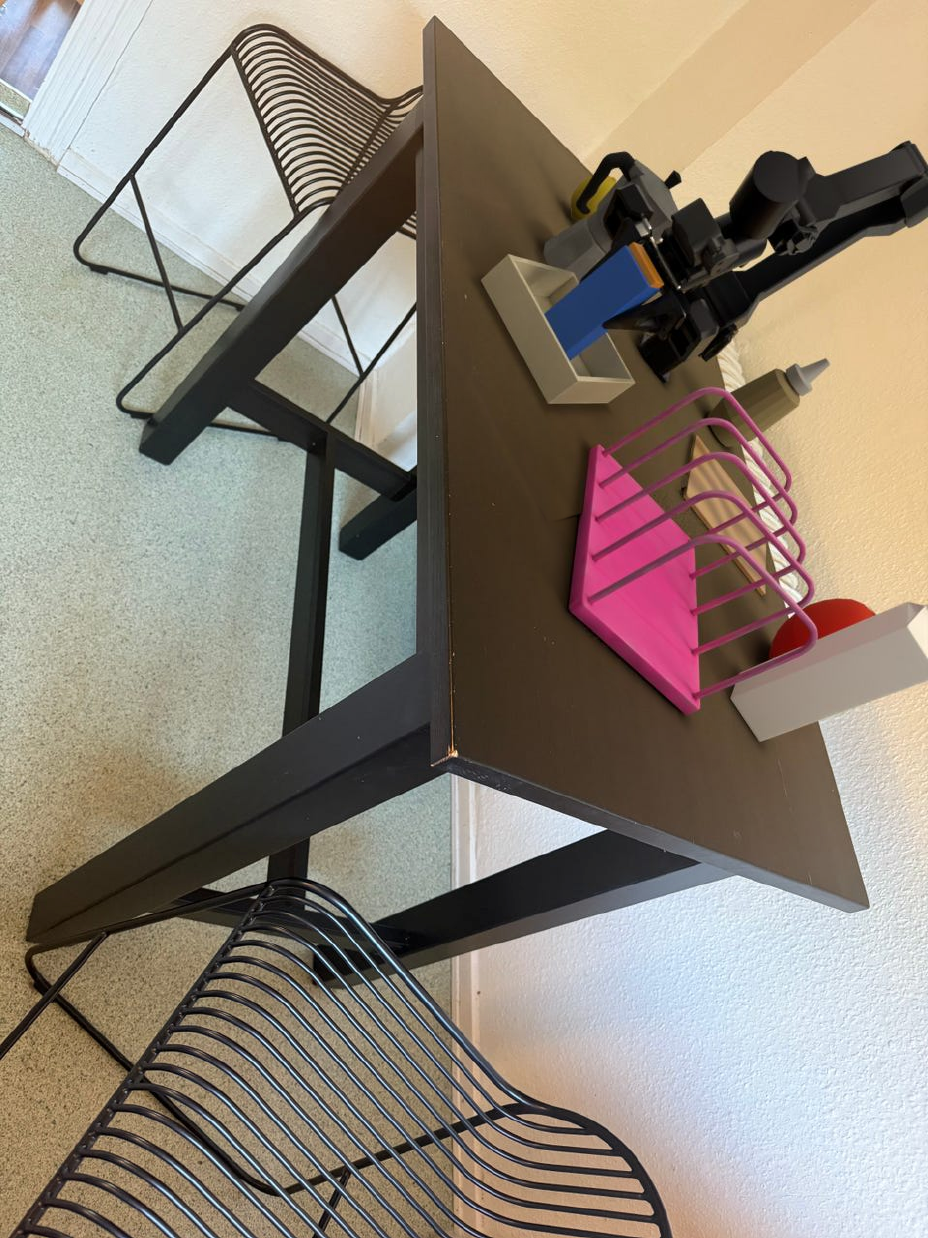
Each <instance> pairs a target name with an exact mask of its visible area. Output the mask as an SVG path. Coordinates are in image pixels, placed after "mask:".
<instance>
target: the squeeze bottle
mask: <svg viewBox="0 0 928 1238" xmlns="http://www.w3.org/2000/svg"><path fill="white" fill-rule="evenodd" d="M830 366H831V363H830V361H829V359H828V358H827V357H825V358H822V359H820V360H817V361H815V362H812V363H810V364H806V365H805V366H802V367H801V366H800V364H798V363H797V362H796V363H793V364H792V365H790V366H789V367H787V368H786V369H785V370H782V369H780V368H776V367H775V368H774V369H772V370H770V371H768V372H766V373H765V374H762V375H761V376H759V377H757V378H755V379H753V380H751V381H749V382H747V383H746V384H743V385H741V386H740V387H738V388H736V389H734V390H732V391H730V392H729V393H730V394H732V396H733V397H734V398H735V399H736V400H737V402H738V403H739V404H740V405H741V407H742V408H743V409H744V411H745V412H746V413H747V414H748V416H749V417H750V418H751V419H752V421H753V422H754V423H755V425H756V426H757V427H758V429H759V430H760V431H761V433H762V434H763V433H764V432H766V431H767V430H768V429H770V428H771V427H773V426H774V425H776V424H777V423H778V422H779V421H781V420H782V419H783V418H785V417H786V416H788V415H789V414H790V413H792V412H793V411H794V410H795V409H797V408H798V407H799V406H800V403H801V397H805V395H807V394H809V393H811V392H812V391H813V385H812V384H811V383H813V382H814V381H815V380H816V379H817V378H818V377H819V376H820V375H821V374H822V373H823V372H824V371H826V370H827V369H828V368H829V367H830ZM707 418H720V419H723V420H726V421H728V422H730V423H731V424H733V425H734V426H735V427H736V429H737V430H738V431H739V432H740V433H741V435H742V436H743V437H744V438H745V439H746V441H747V442H748V443H749V442H752V441H754V440H755V439H757V438H758V437H757V436H756V435H755V434H754V432H753V431H752V430H751V428H750V427H749V426H748V425H747V423H746V422H745V421H744V419H743V418H742V417H741V416H740V414H739V413H738V412H737V411H736V409H735V408H734V407H733V406H732V404H731V403H730V402H729V401H728V400H727V399H726V398H725V397H723V396H722V398H721V399H720V401H718V403H717V404H716V405H715V406H714V408H713V409H712V410H711V411H710V412H709V413H708V415H707ZM709 426H710V429H711V431H712V432H713V434H714V436H715V437H716V438H717V440H718V441H719V442H720V443H721V444H722V445H723V446H725V447H726V448H729V447H733V446H737V445H741V444H740V443H739V441H738V440H737V439H736V438H735V437H734V435H733V434H732V433H731V432H730V431H729V430H728V429H726V428H725V427H723V426H720V425H709Z"/></svg>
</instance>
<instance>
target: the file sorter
mask: <svg viewBox="0 0 928 1238" xmlns="http://www.w3.org/2000/svg"><path fill="white" fill-rule="evenodd" d="M704 395H719V396H721V397H722V398H723V397H725V398H726V399H727V400H728V401H729V402H730V403H731V404H732V406H733V407H734V408H735V409H736V411H737V412H738V413H739V414H740V416H741V417H742V418H743V419H744V421H745V422H746V423H747V425H748V426H749V427H750V428H751V430H752V431H753V432H754V434H755V435H756V436H757V437H756V438H757V439H758V440H759V441H760V443H761V444H762V446H764V448H765V449H766V451H767V452H768V453H769V455H770V456H771V457H772V459H773V461H775V463H776V464H777V465H778V467H779V468H780V469H781V471H782V472H783V474H784V476H785V484H784V486H783V485H782V483H781V482H780V481H779V479H778V478H777V477H776V476H775V475H774V474H773V472H772V471H771V469H770V468H769V467H768V466H767V464H766V463H765V462H764V460H762V458H761V457H760V456H759V454H758V453H757V452H756V450H755V449H754V448H753V447H752V445H751V444H750V443H749V442H747V441H746V439H745V438H744V437H743V436H742V435H741V433H740V432H739V431H738V430H737V429H736V427H735V426H734V425H733V424H731V423H730V422H728V421H726V420H723V419H720V418H708V417H706V418H701V419H699V420H697V421H695V422H693V423H692V424H690V425H688V426H687V427H685V428H683V429H682V430H680V431H678V432H677V433H675V434H674V435H672V436H670V437H669V438H667V439H666V440H664V441H663V442H661V443H659V444H658V445H656V446H655V447H653V448H651V449H650V450H649V451H647V452H645V453H644V454H642V455H640V456H639V457H638V458H636V459H634V460H633V461H631V462H629V463H628V464H626V465H625V466H622V465H621V464H620V463H619V462H618V461H617V460H616V459H615V458H614V457H613V456H612V455H611V454H612V453H614V452H615V451H617V450H618V449H620V448H621V447H623V446H624V445H626V444H628V443H629V442H631V441H633V440H634V439H635V438H637V437H639V436H640V435H642V434H644V433H645V432H646V431H647V430H650V429H651V428H653V427H654V426H656V425H657V424H659V423H661V422H662V421H663V420H665V419H667V418H668V417H669V416H671V415H672V414H674V413H675V412H677V411H679V410H680V409H682V408H683V407H685V406H687V405H688V404H690V403H691V402H693V401H695V400H696V399H698V398H700V397H702V396H704ZM710 425H720V426H723V427H725V428H726V429H728V430H729V431H730V432H731V433H732V434H733V435H734V437H735V438H736V439H737V440H738V441H739V443H740V444H739V445H741V446H742V448H743V449H744V451H746V453H747V454H748V455H749V456H750V457H751V459H752V460H753V461H754V462H755V464H756V465H757V466H758V468H759V469H760V470H761V471H762V472H763V474H764V475H765V476H766V478H767V479H768V480H769V481H770V483H771V484H772V486H773V487H774V488H775V489H776V491H777V492H778V493H776V494H775V495H773V496H771V495H770V493H769V492H768V490H766V488H765V487H764V486H763V484H762V483H761V482H760V480H759V479H758V478H757V476H756V475H755V474H754V473H753V472H752V470H751V469H750V468H749V466H748V465H747V464H746V463H745V461H743V459H742V458H740V457H739V456H737V455H736V454H733V453H731V452H726V451H712V452H710V453H708V454H705V455H703V456H700V457H699V458H697V459H695V460H693V461H691V462H690V463H689V462H688V463H686V464H684V465H683V466H680V467H679V468H677V469H676V470H673V471H672V472H670V473H669V474H667V475H665V476H664V477H662V478H660V479H659V480H657V481H655V482H653V483H652V484H650V485H648V486H646V487H645V488H643V487H642V486H641V485H640V484H639V483H638V482H637V481H636V480H635V479H634V478H633V477H632V476H631V475H630V474H629V472H630V471H632V470H634V469H636V468H637V467H638V466H640V465H642V464H643V463H645V462H646V461H648V460H650V459H651V458H653V457H654V456H656V455H657V454H659V453H661V452H662V451H664V450H665V449H667V448H668V447H670V446H672V445H673V444H675V443H676V442H679V441H681V439H683V438H684V437H686V436H687V435H689V434H691V433H692V432H694V431H696V430H698V429H700V428H702V427H705V426H710ZM588 453H589V454H588V463H587V473H586V482H585V489H584V490H585V491H584V499H583V500H584V501H583V507H582V512H581V513H580V514H579V519H578V528H577V529H578V530H577V535H576V536H577V537H576V546H575V553H574V561H573V569H572V578H571V580H572V581H571V587H570V595H569V603H568V610H569V612H570V613H571V614H572V615H573V616H575V617H576V618H577V619H578V620H579V621H580V622H582V623H583V624H584V625H585V626H586V627H587V628H588V629H589V630H591V631H592V632H593V633H594V634H595V635H596V636H597V637H598V638H599V639H601V641H603V642H604V643H605V644H606V645H607V646H608V647H610V648H611V649H612V650H613V651H614V652H615V653H616V654H617V655H619V657H621V658H622V659H623V660H624V661H625V662H626V663H627V664H629V666H631V667H632V668H633V669H634V670H635V671H636V672H637V673H639V675H640V676H642V677H643V678H644V679H645V680H646V681H648V683H650V684H651V685H652V686H653V687H655V689H656V690H657V691H659V692H660V693H661V695H663V696H664V697H665V698H666V699H668V700H669V701H670V703H672V704H673V705H674V706H675V707H676V708H677V709H678V710H680V711H681V712H682V713H683V714H684V715H685V716H688V715H690V714H693V713H694V712H697V711H699V710H700V709H701V699H703V698H706V697H707V696H710V695H712V694H715V693H717V692H719V691H723V690H725V689H727V688H729V687H731V686H735V684H736V683H739V682H741V681H743V680H746V679H748V678H751V677H753V676H756V675H758V674H760V673H763V672H765V671H767V670H770V669H772V668H774V667H777V666H779V665H782V664H784V663H786V662H788V661H791V660H793V659H795V658H797V657H800V656H802V655H804V654H805V653H807V652H808V651H810V650H811V649H812V648H813V647H814V645H815V644H816V642H817V638H818V633H817V628H816V626H815V624H814V623H813V622H812V620H811V619H810V618H809V617H808V616H807V615H806V614H805V612H804V611H803V610H802V609H803V608H805V607H806V606H808V605H809V604H810V603H811V602H812V599H813V598H814V596H815V592H816V587H815V583H814V580H813V578H812V577H811V576H810V575H809V573H808V572H807V571H806V570H805V568H804V567H803V566H802V565H803V563H804V562H805V559H806V555H807V548H806V544H805V541H804V540H803V538H802V537H801V536H800V534H799V533H798V532H797V530H796V527H794V526H795V524H796V523H797V520H798V517H799V516H798V515H799V513H798V511H799V510H798V507H797V504H796V502H795V501H794V499H793V498H792V497H791V495H790V494H789V491H790V489H791V487H792V483H793V478H792V473H791V470H790V468H789V467H788V466H787V465H786V463H785V462H784V461H783V459H782V458H781V456H780V455H779V453H777V451H776V450H775V448H774V447H773V446H772V444H771V443H770V442H769V440H768V439H767V438H766V436H765V435H764V434H763V433H761V431H760V430H759V429H758V427H757V426H756V425H755V423H754V422H753V421H752V419H751V418H750V417H749V416H748V414H747V413H746V412H745V411H744V409H743V408H742V407H741V405H740V404H739V403H738V402H737V400H736V399H735V398H734V397H733V396H732V394H730V392H729V391H728V390H726V389H723V388H721V387H717V386H705V387H702V388H700V389H697V390H695V391H693V392H692V393H690V394H688V395H687V396H685V397H683V398H682V399H681V400H679V401H677V402H675V403H674V404H673V405H671V406H669V407H668V408H667V409H665V410H664V411H662V412H661V413H659V414H657V415H656V416H654V417H653V418H651V419H650V420H648V421H647V422H645V423H643V424H642V425H641V426H639V427H638V428H636V429H634V430H633V431H632V432H630V433H629V434H627V435H626V436H624V437H622V438H621V439H619V440H618V441H616V442H615V443H613V444H612V445H610V446H609V447H607V448H604V447H603V446H602V445H601V444H596V446H594V447H592V448H591V449H590V450H589V452H588ZM713 459H716V460H725V461H729V462H731V463H733V464H734V465H736V466H737V467H738V469H740V471H741V472H742V473H743V475H744V476H745V477H746V479H747V480H748V481H749V482H750V483H751V484H752V486H753V488H755V490H756V491H757V492H758V494H759V495H760V496H761V498H762V499H763V500H764V501H762V502H761V503H758V504H756V505H755V506H752V508H751V509H750V508H749V507H748V505H747V504H746V503H745V502H744V501H743V500H742V499H741V498H739V497H738V496H736V495H735V494H733V493H730V492H727V491H723V490H710V491H705V492H702V493H699V494H697V495H695V496H693V497H691V498H690V499H688V500H684V501H682V502H681V503H679V504H677V505H675V506H674V507H672V508H670V509H669V510H667V511H665V510H664V509H663V508H662V507H661V506H660V505H659V504H658V503H657V502H656V501H655V500H654V499H653V498H652V497H651V496H650V494H651V493H653V492H654V491H656V490H658V489H659V488H662V487H663V486H665V485H667V484H668V483H670V482H672V481H674V480H676V479H677V478H679V477H681V476H683V475H685V474H687V472H688V471H690V470H692V469H693V468H695V467H697V466H699V465H700V464H702V463H704V462H706V461H709V460H713ZM708 498H724V499H727V500H729V501H731V502H733V503H734V504H736V505H737V506H738V507H739V508H740V509H741V511H742V512H743V513H742V514H740V515H738V516H736V517H734V518H732V519H730V520H728V521H726V522H724V523H722V524H721V525H719V526H717V527H715V528H713V529H711V530H709V529H708V531H706V532H703V533H702V534H699V535H698V536H695V537H694V538H692V539H691V538H690V537H689V535H688V534H687V533H686V532H684V530H682V528H681V527H680V526H679V525H678V524H677V523H676V522H675V521H674V520H673V519H672V518H673V517H675V516H677V515H678V514H680V513H682V512H683V511H685V510H687V509H689V508H691V506H692V505H694V504H696V503H698V502H700V501H702V500H705V499H708ZM781 499H783V500H784V501H785V502H786V504H787V505H788V506H789V509H790V511H791V514H790V515H791V516H790V519H788V517H787V516H786V514H785V513H784V512H783V511H782V510H781V508H780V506H779V505H778V504H777V503H776V502H778V501H779V500H781ZM767 507H769V508H770V509H771V511H772V512H773V514H775V516H776V517H777V518H778V520H779V521H780V523H781V524H782V525H783V526H782V527H780V528H778V529H777V530H775V531H773V532H772V531H771V529H770V528H769V527H768V526H767V524H766V523H765V522H764V521H763V520H762V521H763V522H764V523H765V524H764V523H763V522H762V521H761V520H760V519H759V518H758V516H757V515H756V514H755V513H757V512H759V511H762V510H763V509H766V508H767ZM746 517H748V518H749V519H750V520H751V521H752V522H753V524H754V525H755V526H756V527H757V528H758V529H759V530H760V531H761V532H762V533H763V534H764V536H765V537H763V538H761V539H759V540H757V541H755V542H753V543H751V544H749V545H747V546H746V547H744V546H743V545H742V544H741V543H739V542H738V541H737V540H735V539H733V538H731V537H728V536H725V535H719V534H716V533H718V532H720V531H722V530H723V529H725V528H727V527H729V526H731V525H733V524H735V523H737V522H739V521H741V520H743V519H744V518H746ZM786 533H789V534H790V536H791V538H792V539H793V540H794V541H795V543H796V545H797V546H798V548H799V552H798V553H799V554H798V556H797V557H796V558H795V557H794V556H793V554H792V553H791V552H790V551H789V550H788V549H787V548H786V546H785V545H783V543H782V541H780V540H779V538H778V537H781V536H782V535H784V534H786ZM710 543H717V544H720V543H723V544H726V545H729V546H731V547H732V548H734V549H735V550H736V552H734V553H732V554H730V555H729V554H728V555H726V556H723V557H721V558H720V559H717V560H716V561H713V562H712V563H710V564H707V565H706V566H703V567H702V568H700V569H698V570H696V553H695V552H696V551H695V548H696V547H698V546H701V545H705V544H710ZM765 543H766V544H767V543H770V544H771V545H772V546H773V547H774V548H775V549H776V550H777V551H778V552H779V554H780V555H781V556H782V557H783V558H784V559H785V561H787V563H788V564H789V565H788V566H786V567H784V568H781V569H779V570H778V571H775V572H773V573H771V574H770V572H769V571H768V570H767V569H766V570H765V568H764V567H763V566H762V565H761V564H760V563H759V562H758V561H757V560H756V559H755V558H754V557H753V556H752V555H751V554H750V553H749V551H751V550H753V549H755V548H757V547H759V546H761V545H763V544H765ZM739 556H742V557H743V558H744V559H745V560H746V561H747V562H748V563H749V564H750V565H751V566H752V567H753V568H754V570H755V571H756V572H757V573H758V574H759V575H760V576H761V577H762V579H760V580H758V581H756V582H753V583H751V582H750V583H749V584H747V585H744V586H743V587H740V588H738V589H736V590H734V591H732V592H729V593H727V594H724V595H722V596H721V597H718V598H715V599H713V600H711V601H709V602H706V603H704V604H702V605H699V606H698V602H697V601H698V600H697V599H698V598H697V578H699V577H701V576H703V575H705V574H707V573H709V572H711V571H713V570H715V569H717V568H719V567H721V566H723V565H726V564H727V563H729V562H731V561H734V560H733V559H735V558H737V557H739ZM794 571H796V573H797V574H798V575H799V576H800V577H801V579H803V581H804V582H805V583H806V585H807V587H808V589H807V593H806V594H805V596H803V598H802V599H801V600H799V601H798V602H796V601H795V600H794V599H793V598H792V597H791V595H790V594H788V592H787V591H786V590H785V589H784V588H783V586H782V585H781V584H780V583H779V582H778V581H777V580H778V579H780V578H782V577H784V576H787V575H789V574H790V573H792V572H794ZM765 584H766V585H768V586H769V587H770V588H771V589H772V590H773V591H774V593H776V594H777V595H778V596H779V598H781V600H782V601H784V603H785V604H786V605H787V607H785V608H783V609H781V610H779V611H777V612H774V613H772V614H769V615H767V616H766V617H765V616H764V617H763V618H761V619H759V620H756V621H754V622H752V623H749V624H747V625H745V626H743V627H740V628H738V629H736V630H734V631H732V632H730V633H728V634H725V635H723V636H720V637H717V638H715V639H713V640H712V641H709V642H707V643H705V644H703V645H700V646H699V630H698V629H699V628H698V625H699V624H698V615H700V614H702V613H704V612H706V611H709V610H711V609H713V608H716V607H718V606H720V605H723V604H725V603H727V602H729V601H732V600H734V599H737V598H738V597H740V596H743V595H745V594H747V593H750V592H752V591H753V590H756V588H758V587H761V586H763V585H765ZM795 613H796V615H797V616H798V617H799V618H800V619H801V620H802V621H803V622H804V624H805V625H806V626H807V627H808V628H809V629H810V632H811V637H810V639H809V640H808V642H807V643H806V644H805V645H804V646H802V647H801V648H799V649H797V650H795V651H792V652H790V653H788V654H786V655H783V656H781V657H779V658H776V659H774V660H772V661H770V662H767V663H765V664H763V665H760V666H758V667H755V666H754V667H755V668H753V669H751V670H748V671H746V672H744V673H741V672H740V673H741V674H739V673H738V674H736V675H734V676H731V677H730V678H727V679H725V680H722V681H720V682H718V683H715V684H713V685H711V686H708V687H706V688H704V689H702V690H701V689H700V687H701V686H700V661H699V660H700V658H699V657H700V656H699V655H700V654H704V653H705V652H708V651H710V650H712V649H715V648H717V647H719V646H721V645H724V644H726V643H728V642H730V641H733V640H735V639H737V638H740V637H742V636H744V635H746V634H748V633H751V632H754V631H755V630H758V629H760V628H762V627H764V626H767V625H769V624H772V623H774V622H776V621H778V620H780V619H783V618H786V617H787V616H789V615H792V614H795Z"/></svg>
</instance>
